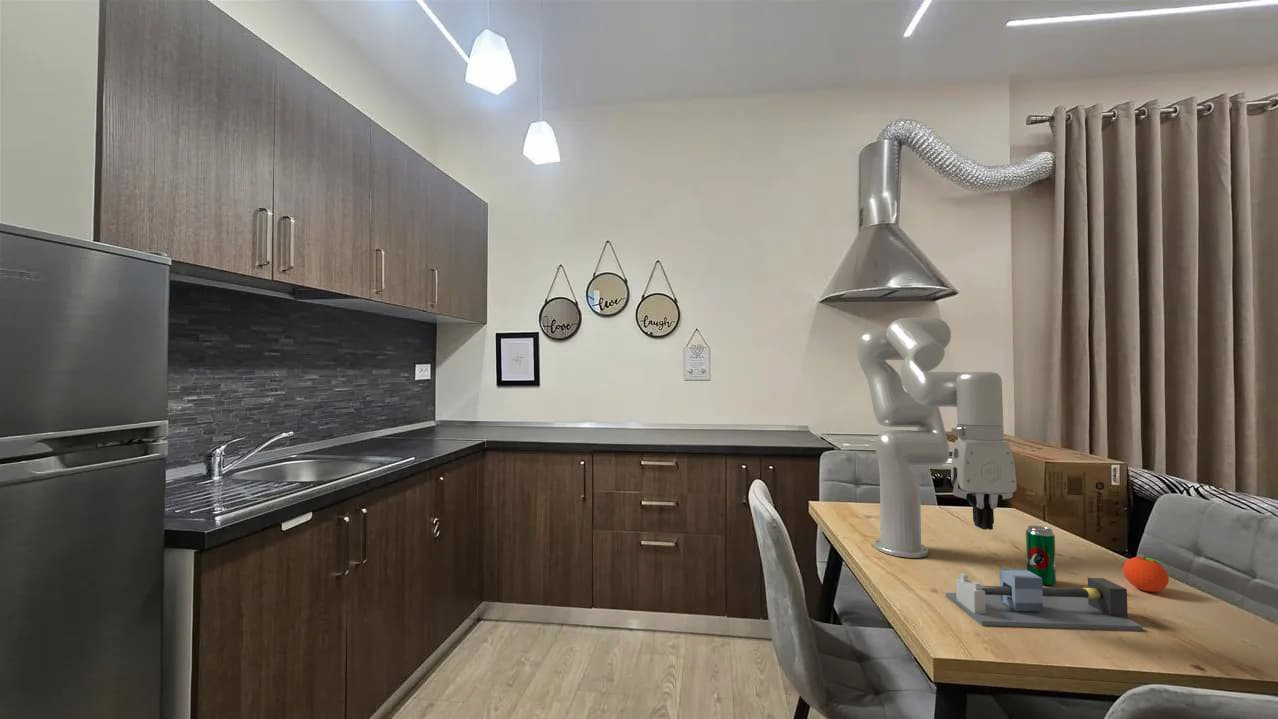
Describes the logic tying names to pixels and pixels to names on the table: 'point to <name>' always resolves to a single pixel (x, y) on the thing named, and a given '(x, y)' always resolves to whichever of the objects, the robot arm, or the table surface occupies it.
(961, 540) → the table surface
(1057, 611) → the linear slide rail
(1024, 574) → the sleeve
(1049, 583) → the soda can
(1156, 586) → the clementine
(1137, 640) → the table surface
